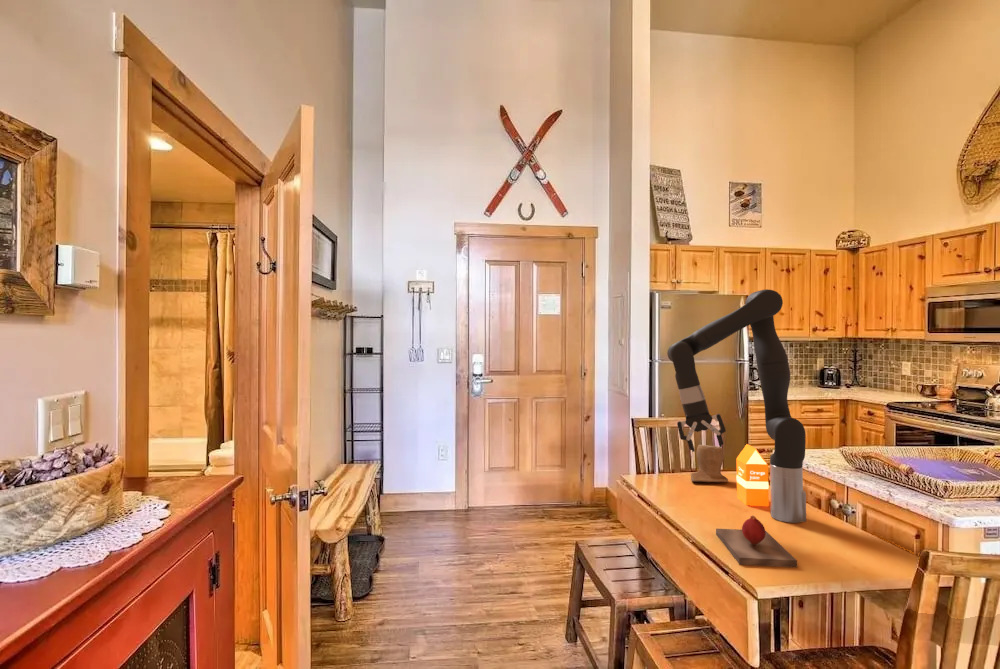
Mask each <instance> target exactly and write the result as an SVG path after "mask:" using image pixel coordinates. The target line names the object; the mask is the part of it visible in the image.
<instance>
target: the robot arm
mask: <svg viewBox="0 0 1000 669" xmlns="http://www.w3.org/2000/svg"><path fill="white" fill-rule="evenodd" d="M783 304H784V302H783V297H782V296H781V294H780V293H779V292H778V291H776V290H774V289H773V290H772V289H768V288H767V289H761V290H756V291H753V292H752V293H750V294H749V295H748V296H747V297H746V300H745V303H744V304H743V305H742V306H741V307H739V308H737V309H736V310H734V311H732V312H730V313H728V314H725V315H724V316H721V317H720V318H718V319H715V320H713V321H711V322H709V323H708V324H706V325H704V326H702V327H701V328H699V329H697V330H695V331H694V332H692V333H691V334H690V335H687V336H686V337H684V338H682V339H680V340H679V341H676V342H675V343H673V344H671V345H670V346H669V347H668V349H667V352H666V353H667V357H668V360H670V361H671V362H672V364H673V368H674V370H675V375H674V377H675V381H676V384H677V389H678V392H679V393H678V394H679V398H680V402H681V406H682V409H683V413H684V416H685V420H683V421H682V420H678V421H677V423H676V424H677V429H678V434H679V438H680V440H682V441H686V443H687V444H688V449H689V450H690V451H691V452H692V453H693V452H695V450H696V449H695V446H694V443H693V439H692V437H693V434H694V432H697V433H699V432H702V431H707V430H710V431H712V433H714V434H715V435H716V439H717V442H718V445H719V446H718V447H721V448H723V445H724V440H723V436H722V434H724V433H725V432H726V430H727V429H726V427H725V424H724V421H723V418H722V415H721V413H716V414H713V415H711V414H710V412H709V411H710V410H709V407H708V403H707V401H706V397H705V394H704V390H703V389H702V385H701V382H700V380H699V376H698V373H697V369H696V363H695V362H696V361H695V357H694V356H695V355H697V354H699V353H700V352H701V353H702V352H703V351H706V350H708V349H710V348H711V347H713V346H716V345H717V344H718V343H720V342H722V341H724V340H725V339H727V338H729V337H731V336H732V335H734V334H736V332H738V331H740V330H742V329H744V328H746V327H748V326H750V329H751V333H752V339H753V348H754V353H755V360H756V361H755V362H756V366H757V373H758V377H759V378H758V379H759V382H760V383H759V384H760V386H761V394H762V398H763V403H764V418H765V419H764V420H765V431H766V433H767V435H768V436H769V438H770V439H772V440H773V441H774V449H773V450H774V451H773V453H772V454H771V455H770V456H769V472H770V473H769V475H770V477H769V482H770V487H769V489H770V516H771V517H772V518H773V519H774V520H777V521H780V522H784V523H785V522H786V523H791V524H792V523H793V524H794V523H798V524H799V523H802V522H805V523H806V522H807V492H806V491H805V490H804V486H803V485H804V484H803V483H804V481H803V480H804V476H803V474H804V472H803V463H804V460H805V457H806V442H807V441H806V440H807V439H806V438H807V437H806V430H805V426H804V424H803V423H802V422H801V421H800V420H799V419H797V418H794V417H792V416H791V412H790V407H789V403H788V402H789V401H788V393H789V388H790V383H791V368H790V363H789V358H788V355H787V351H786V349H785V347H784V345H783V343H782V342H781V339H780V337H779V336H778V333H777V330H776V326H775V320H774V319H775V318H774V317H775V315H777V314H778V313H779V312H780V311H781V310H782V308H783ZM713 420H715V422H718V424H719V428H720V429H717V428H716V427H715V425H713V424H712V421H713ZM685 425H686V426H688V427H689V428H690V429H689V431H688V433H687V435H685V433H684V429H683V428H685Z"/></svg>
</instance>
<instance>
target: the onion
mask: <svg viewBox="0 0 1000 669" xmlns="http://www.w3.org/2000/svg"><path fill="white" fill-rule="evenodd" d="M741 530H742V533H743V535H744V537H745V538H746V539H747V540H748V541H749V542H750V543H751V544H753V545H756V544H758V543H759V542H761V541H762V540H763V539H764V538H765V534H766V532H767V531H766V529H765V526H764V524H763V523H762V522H761V521H760V520H759V519H757V517H756V516H755V515H751V516H750V518H748V519H746V520H745V521H744V522H743V523H742V526H741ZM765 531H766V532H765Z"/></svg>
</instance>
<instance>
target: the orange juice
mask: <svg viewBox="0 0 1000 669" xmlns="http://www.w3.org/2000/svg"><path fill="white" fill-rule="evenodd" d="M735 459H736V498H737V499H738V500H739V501H740V502H741V503H742V504H744V505H745V506H746V505H747V506H748V505H750V506H749V507H769V500H770V499H769V489H770V487H769V464H768V463H767V462H766V460H765V459H764V458H763V456H762V455H761V454H760V452H759V450H757V448H756V447H755V446H752V445H749V444H748V443H746V445H744V448H743V449H742V450H741V451H740V453H739V454H738V455H737V457H736V458H735ZM747 506H746V507H747Z"/></svg>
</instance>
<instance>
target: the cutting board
mask: <svg viewBox="0 0 1000 669" xmlns="http://www.w3.org/2000/svg"><path fill="white" fill-rule="evenodd" d="M765 532H766V534H765V538H764V539H763V540H762V541H761V542H759V543H758V544H756V545H753V544H751V543H750V542H749V541H748V540H747V539H746V538H745V537H744V535H743V533H742V529H733V528H715V536H717V538H718V539H719V540H720V542H721V543H722V544H723V545H724V547H725V548H726V549H727V550H728V551H729V553H730V555H731V556H732V557H733V558H734V560H735V559H736V560H735V561H736V562H737V564H738V565H743V566H762V567H778V568H779V567H780V568H798V560H797V559H796V558H795V557H794V556H793V555H792V554H791V553H790V552H789V551H788V550H787V549H786V548H785V547H783V546H782V544H781V543H779V542H778V540H776V539H775V538H774V537H773V536H772V535H771V534H769V532H768V531H767V530H765Z"/></svg>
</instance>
